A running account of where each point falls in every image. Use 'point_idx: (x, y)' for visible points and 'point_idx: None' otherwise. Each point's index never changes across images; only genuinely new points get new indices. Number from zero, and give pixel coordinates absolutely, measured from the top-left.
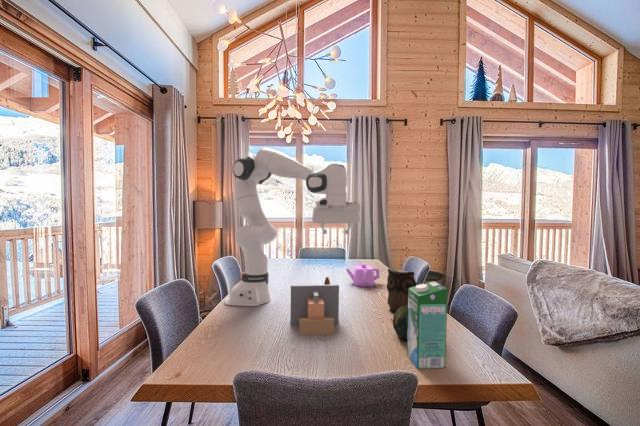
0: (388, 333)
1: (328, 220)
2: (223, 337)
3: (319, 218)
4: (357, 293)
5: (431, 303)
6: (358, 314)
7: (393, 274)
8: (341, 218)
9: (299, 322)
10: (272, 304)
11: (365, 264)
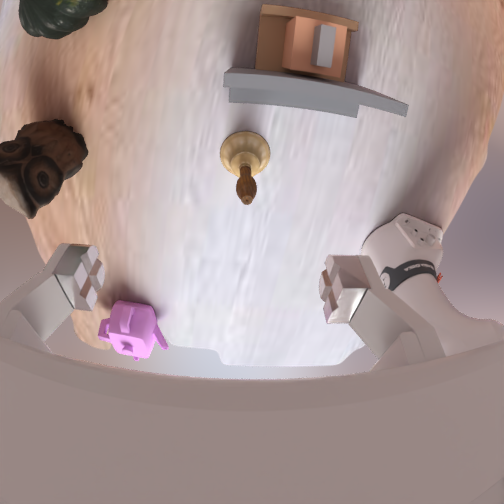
0: (122, 12)
1: (374, 418)
2: (472, 77)
3: (501, 404)
4: (149, 267)
5: None
6: (163, 125)
7: (23, 182)
8: (58, 445)
9: (347, 53)
10: (366, 219)
11: (123, 350)
